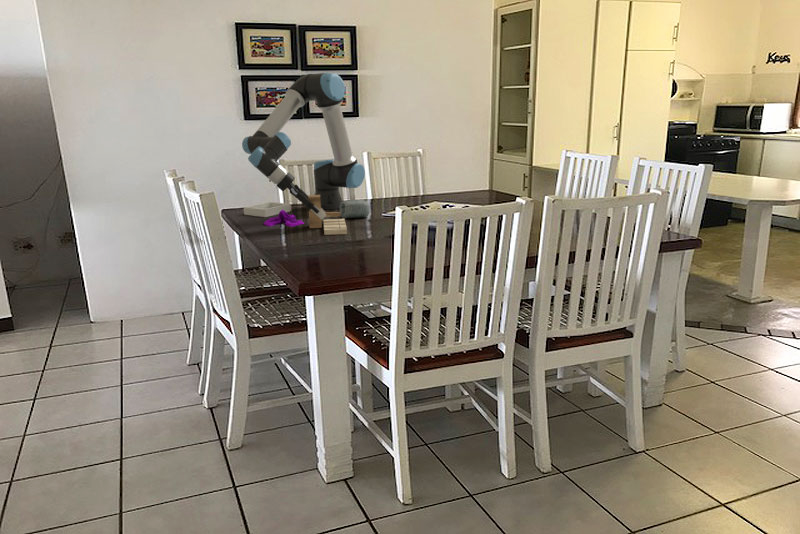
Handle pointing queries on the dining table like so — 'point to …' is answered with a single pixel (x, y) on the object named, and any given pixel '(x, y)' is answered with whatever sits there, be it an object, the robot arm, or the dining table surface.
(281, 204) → the white shallow tray
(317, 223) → the tan angular block
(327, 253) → the dining table surface
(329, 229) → the board
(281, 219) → the cloth
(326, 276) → the dining table surface
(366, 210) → the spool
